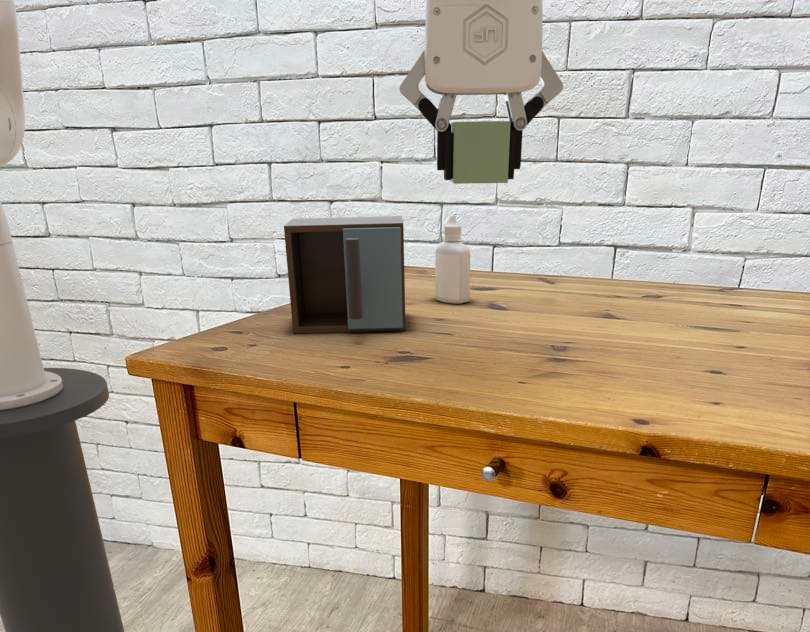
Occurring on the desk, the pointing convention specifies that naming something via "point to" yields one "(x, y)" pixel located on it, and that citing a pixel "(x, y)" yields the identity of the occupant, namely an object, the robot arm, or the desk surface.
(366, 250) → the closet door
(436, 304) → the desk surface
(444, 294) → the eye dropper bottle
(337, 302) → the closet
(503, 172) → the block
